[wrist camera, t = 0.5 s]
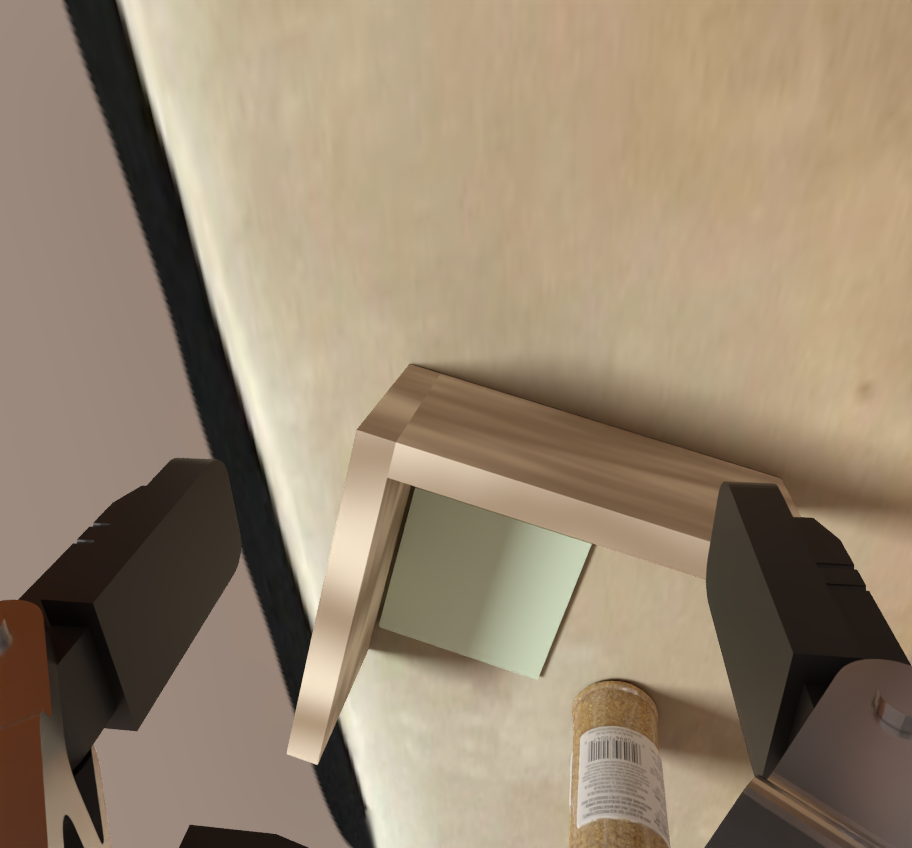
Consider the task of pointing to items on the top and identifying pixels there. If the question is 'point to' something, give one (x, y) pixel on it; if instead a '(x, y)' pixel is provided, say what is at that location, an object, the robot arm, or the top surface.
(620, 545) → the light wood l-shaped panel
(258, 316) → the top surface
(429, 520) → the pad
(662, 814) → the sprinkles bottle
